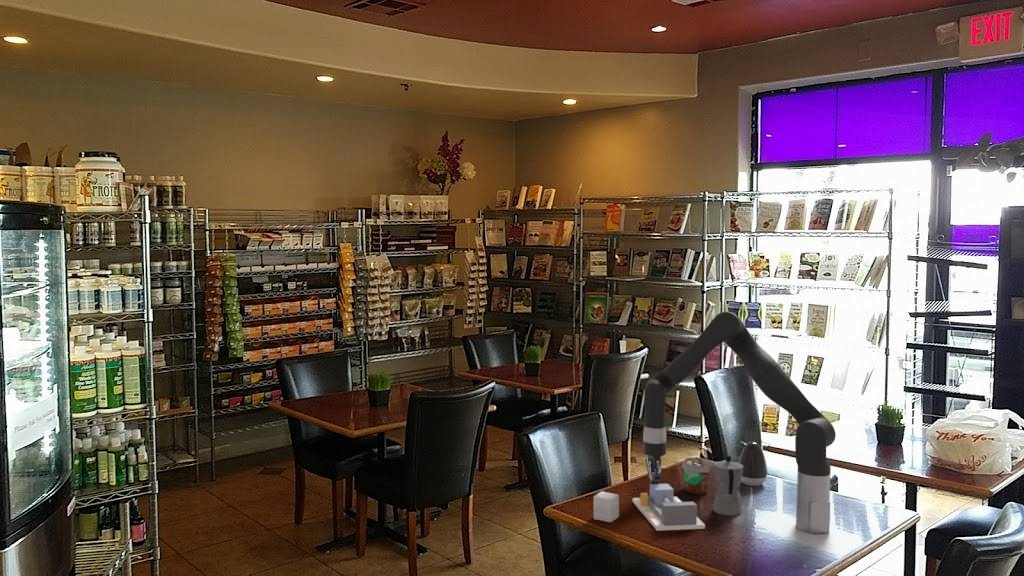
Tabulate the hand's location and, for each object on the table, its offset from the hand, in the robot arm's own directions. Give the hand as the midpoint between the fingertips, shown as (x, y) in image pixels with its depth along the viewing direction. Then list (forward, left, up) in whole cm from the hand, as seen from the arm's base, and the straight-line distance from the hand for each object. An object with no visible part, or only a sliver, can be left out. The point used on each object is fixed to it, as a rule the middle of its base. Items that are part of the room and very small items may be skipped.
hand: (653, 490), depth 264 cm
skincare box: (-15, +20, -3) cm, 26 cm away
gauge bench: (-14, 0, -3) cm, 15 cm away
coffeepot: (-14, -20, -3) cm, 25 cm away
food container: (+8, -16, -3) cm, 18 cm away
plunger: (-11, +2, -1) cm, 11 cm away
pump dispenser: (+13, -40, -3) cm, 42 cm away
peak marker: (-10, +6, -1) cm, 12 cm away
